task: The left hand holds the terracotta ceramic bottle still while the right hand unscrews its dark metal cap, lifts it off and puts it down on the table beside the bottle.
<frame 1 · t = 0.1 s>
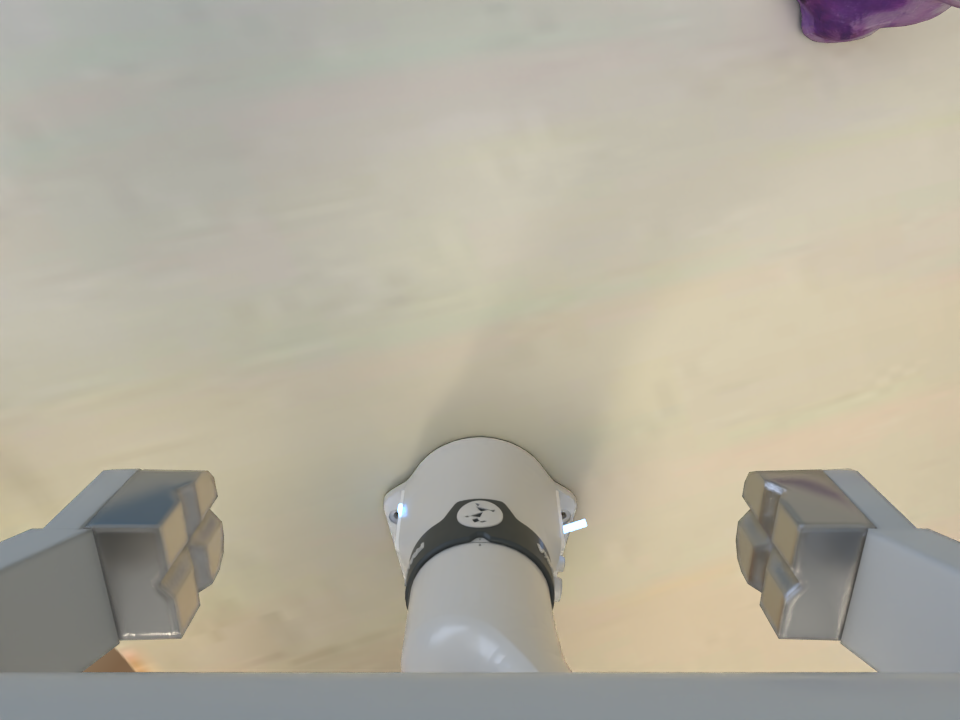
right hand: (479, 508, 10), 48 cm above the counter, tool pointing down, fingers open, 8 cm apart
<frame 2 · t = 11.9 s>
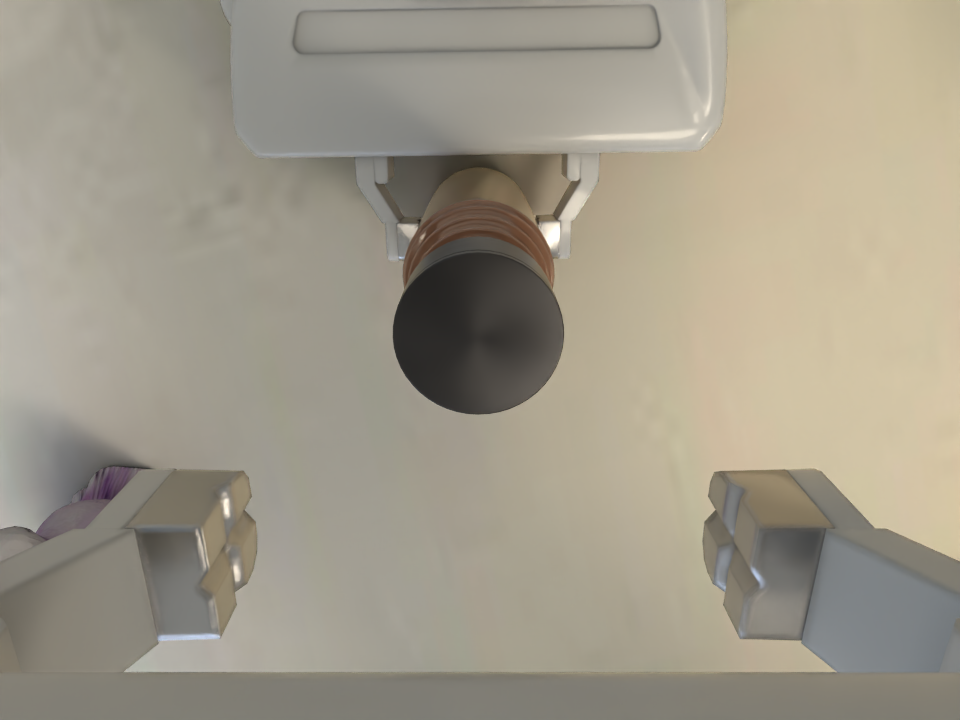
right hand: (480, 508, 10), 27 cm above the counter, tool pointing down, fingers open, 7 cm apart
figurine: (126, 524, 42), on the counter
cap: (478, 333, 18), point 19 cm above the counter, screwed on, not yet turned
bottle: (478, 220, 36), on the counter, touching left hand
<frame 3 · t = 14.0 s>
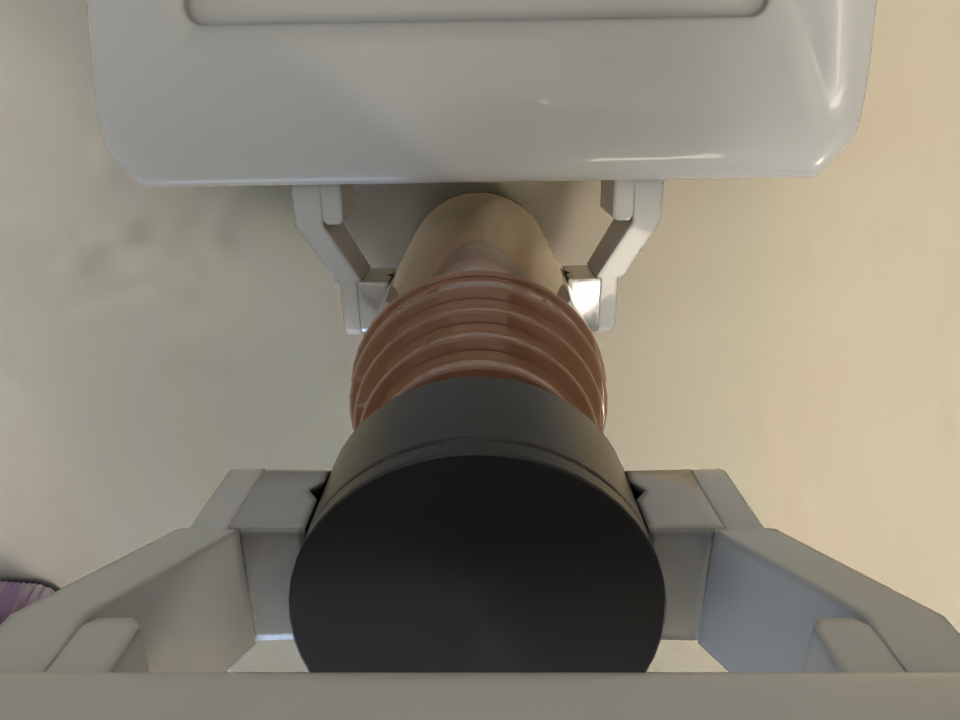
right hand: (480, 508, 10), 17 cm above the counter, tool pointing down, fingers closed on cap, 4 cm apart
figurine: (22, 649, 33), on the counter
cap: (477, 602, 8), point 19 cm above the counter, screwed on, not yet turned, touching right hand
bottle: (479, 264, 26), on the counter, touching left hand
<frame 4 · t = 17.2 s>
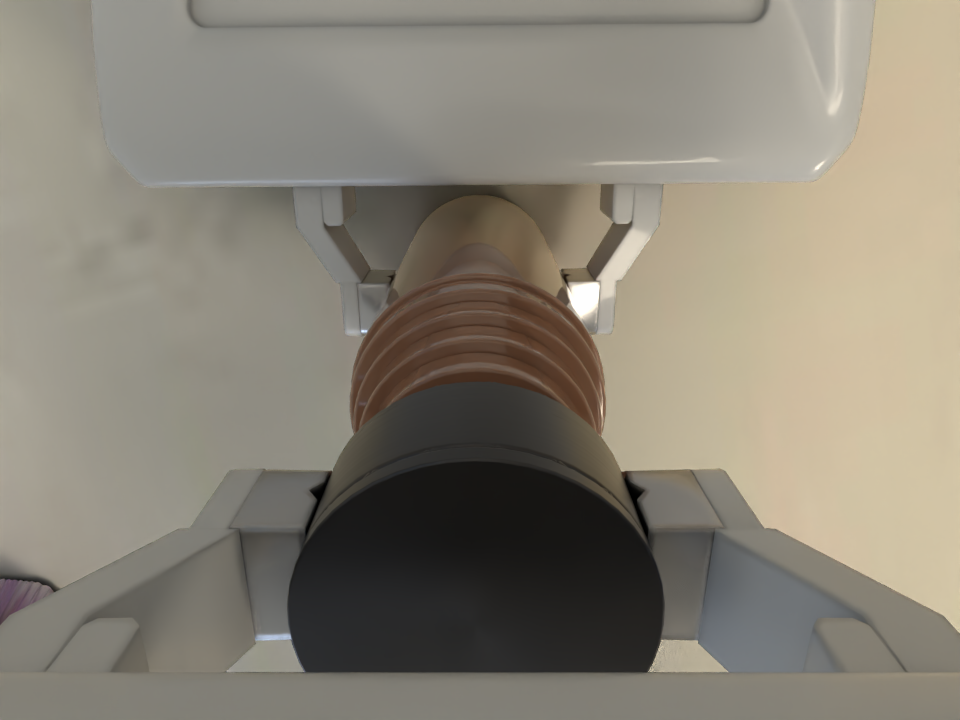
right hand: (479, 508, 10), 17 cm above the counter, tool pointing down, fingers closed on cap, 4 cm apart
figurine: (19, 647, 33), on the counter
cap: (476, 608, 8), point 19 cm above the counter, turned 83° so far, risen 0.1 cm, still on its thread, touching right hand
bottle: (479, 266, 26), on the counter, touching left hand
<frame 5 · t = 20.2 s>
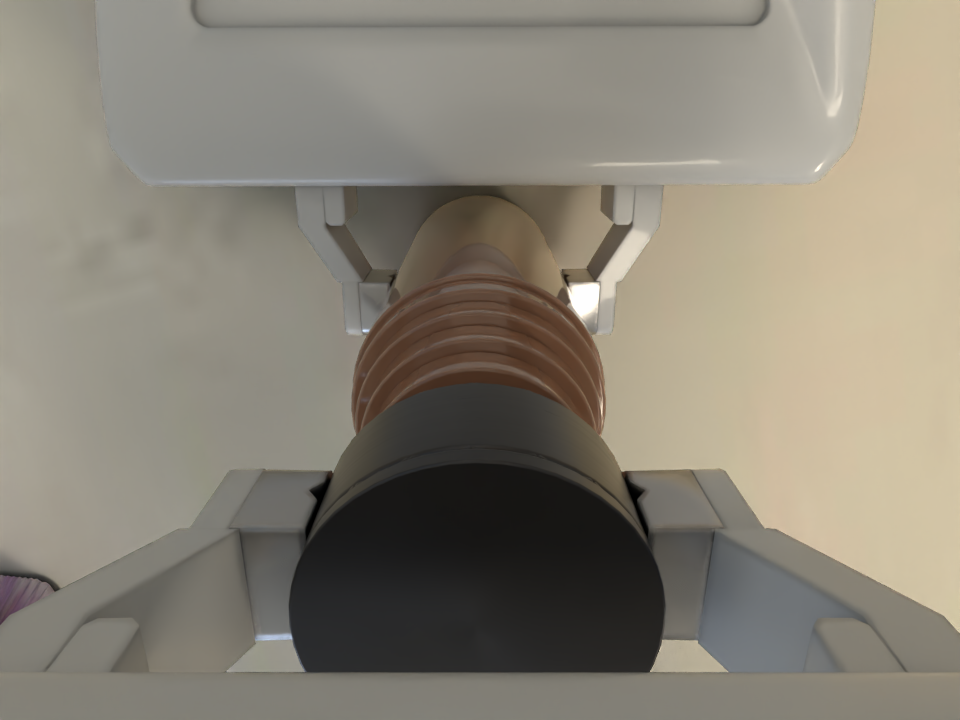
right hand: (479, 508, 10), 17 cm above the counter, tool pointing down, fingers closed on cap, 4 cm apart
figurine: (17, 644, 33), on the counter
cap: (477, 609, 8), point 19 cm above the counter, turned 166° so far, risen 0.2 cm, still on its thread, touching right hand
bottle: (479, 266, 26), on the counter, touching left hand
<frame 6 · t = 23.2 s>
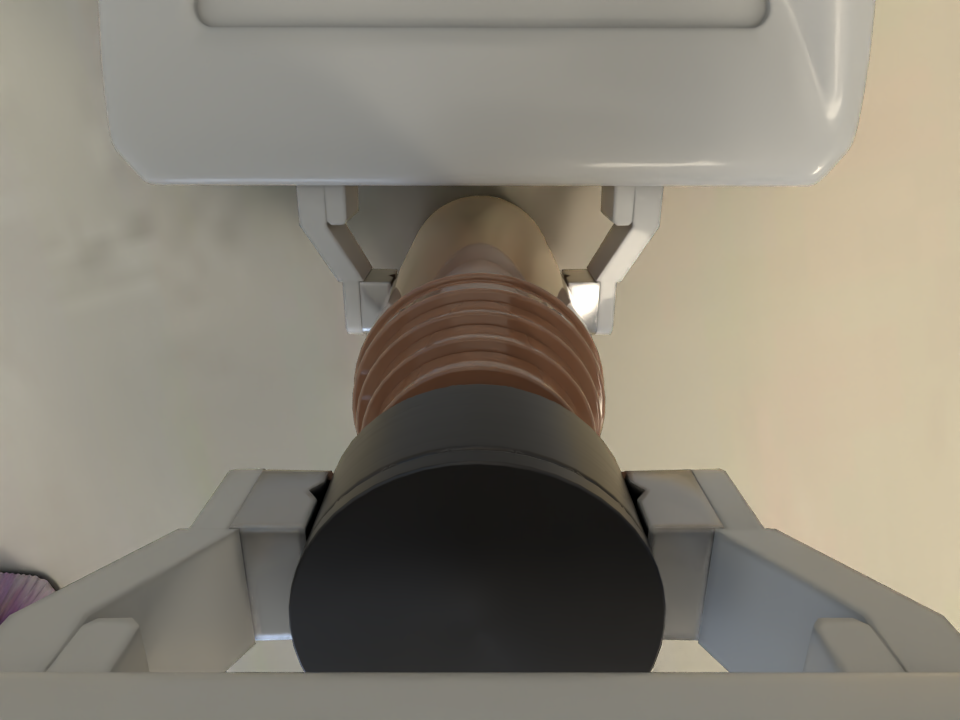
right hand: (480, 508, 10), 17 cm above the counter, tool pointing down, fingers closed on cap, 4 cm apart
figurine: (15, 640, 33), on the counter
cap: (477, 610, 8), point 19 cm above the counter, turned 249° so far, risen 0.3 cm, still on its thread, touching right hand
bottle: (479, 266, 26), on the counter, touching left hand
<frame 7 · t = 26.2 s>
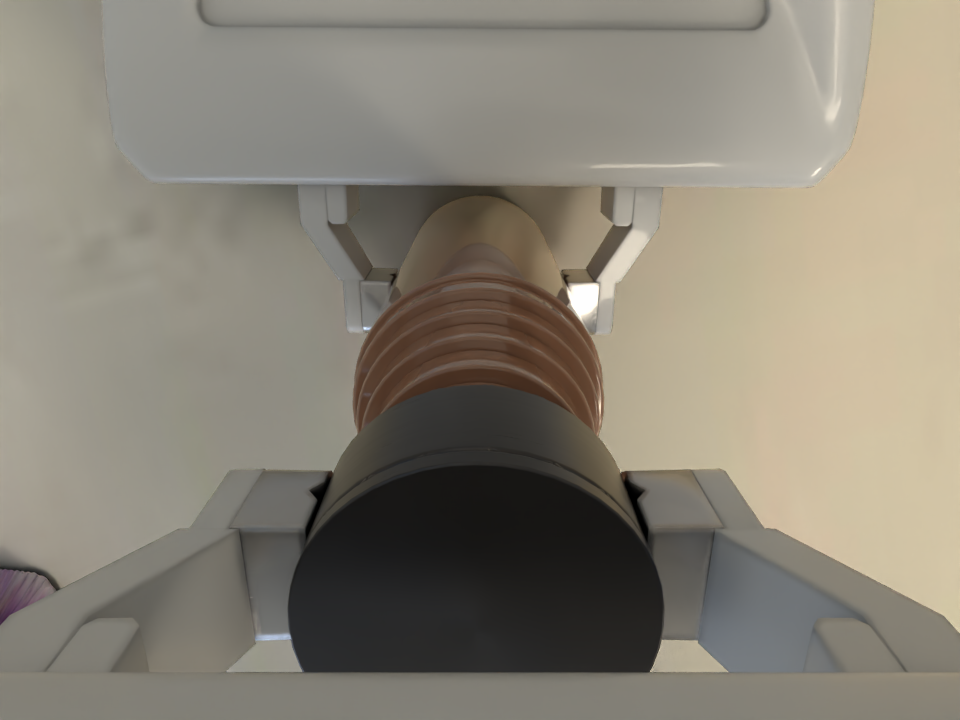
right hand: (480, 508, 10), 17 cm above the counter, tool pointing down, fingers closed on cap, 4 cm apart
figurine: (13, 637, 33), on the counter
cap: (476, 611, 8), point 19 cm above the counter, turned 332° so far, risen 0.3 cm, still on its thread, touching right hand
bottle: (479, 265, 26), on the counter, touching left hand
when the right hand's fingers open (2 cm above the counter, at t = 33.5 s): cap drops 2 cm, point 2 cm above the counter.
when the left hand's fingers open (5 cm above the counter, at t = 34.7 s): bottle stays where it is, on the counter.
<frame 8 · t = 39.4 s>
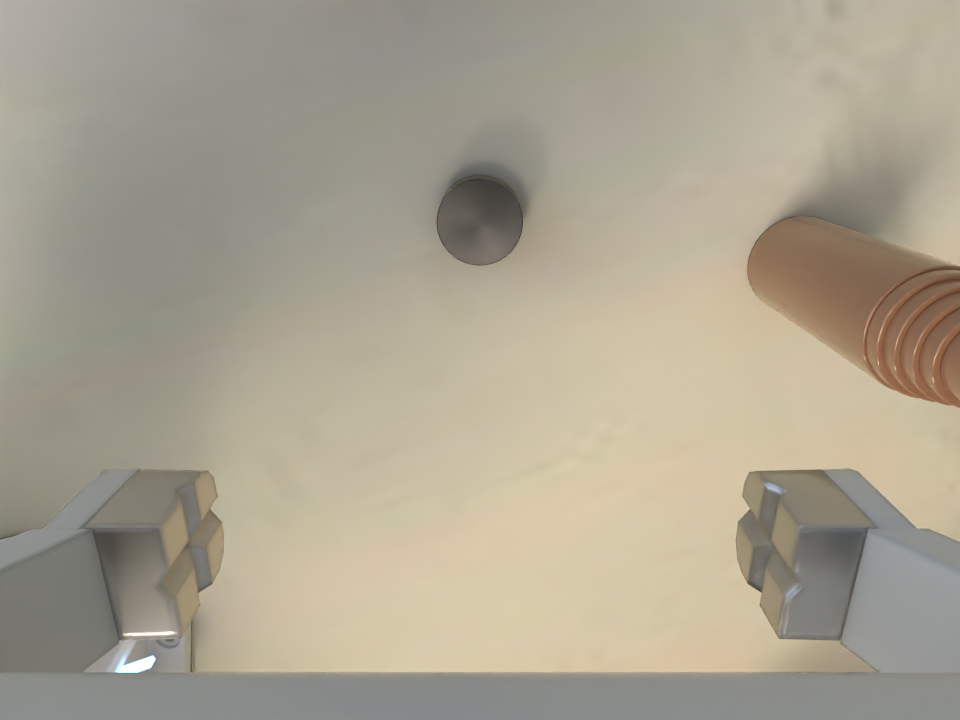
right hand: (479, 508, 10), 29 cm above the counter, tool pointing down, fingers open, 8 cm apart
cap: (479, 222, 36), point 2 cm above the counter, off its thread
bottle: (794, 263, 39), on the counter
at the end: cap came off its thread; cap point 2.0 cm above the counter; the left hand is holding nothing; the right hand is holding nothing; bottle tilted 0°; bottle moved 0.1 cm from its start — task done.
